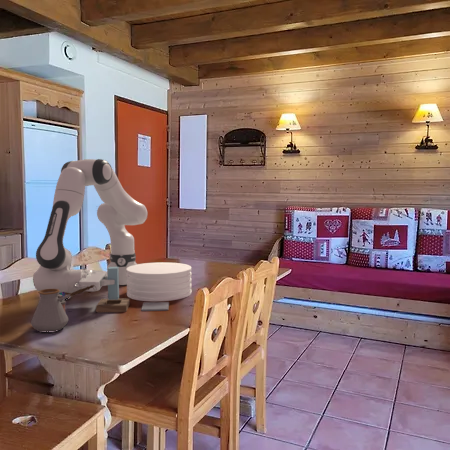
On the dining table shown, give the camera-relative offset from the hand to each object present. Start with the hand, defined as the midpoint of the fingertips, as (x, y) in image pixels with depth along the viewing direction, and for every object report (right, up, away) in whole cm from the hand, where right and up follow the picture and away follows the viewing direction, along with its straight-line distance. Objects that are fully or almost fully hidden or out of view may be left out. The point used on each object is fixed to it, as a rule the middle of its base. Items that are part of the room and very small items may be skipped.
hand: (115, 280), depth 175 cm
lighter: (-16, -13, -17) cm, 27 cm away
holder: (-1, -11, +1) cm, 11 cm away
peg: (-1, -7, +1) cm, 7 cm away
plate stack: (+13, -9, +25) cm, 30 cm away
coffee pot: (-10, -13, -25) cm, 30 cm away
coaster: (+15, -11, +2) cm, 18 cm away
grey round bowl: (-28, -10, +15) cm, 34 cm away
